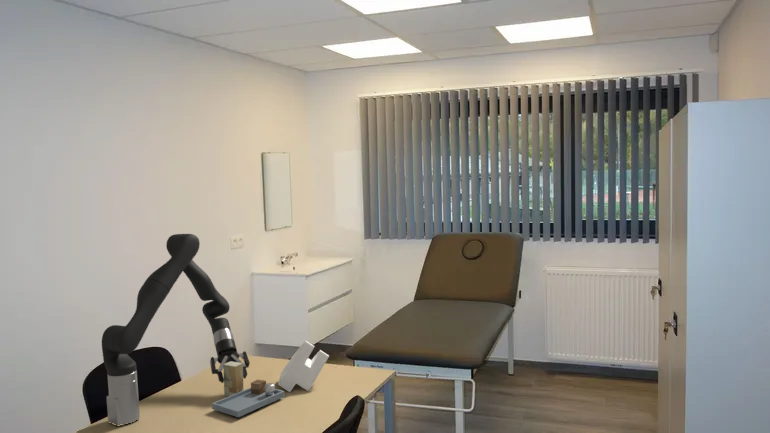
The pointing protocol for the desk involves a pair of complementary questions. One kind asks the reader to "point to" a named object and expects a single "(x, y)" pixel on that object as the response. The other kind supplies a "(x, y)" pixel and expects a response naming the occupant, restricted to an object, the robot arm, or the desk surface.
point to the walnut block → (258, 387)
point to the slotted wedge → (302, 368)
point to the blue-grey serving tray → (245, 402)
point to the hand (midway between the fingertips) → (234, 379)
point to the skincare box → (233, 378)
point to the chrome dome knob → (269, 389)
